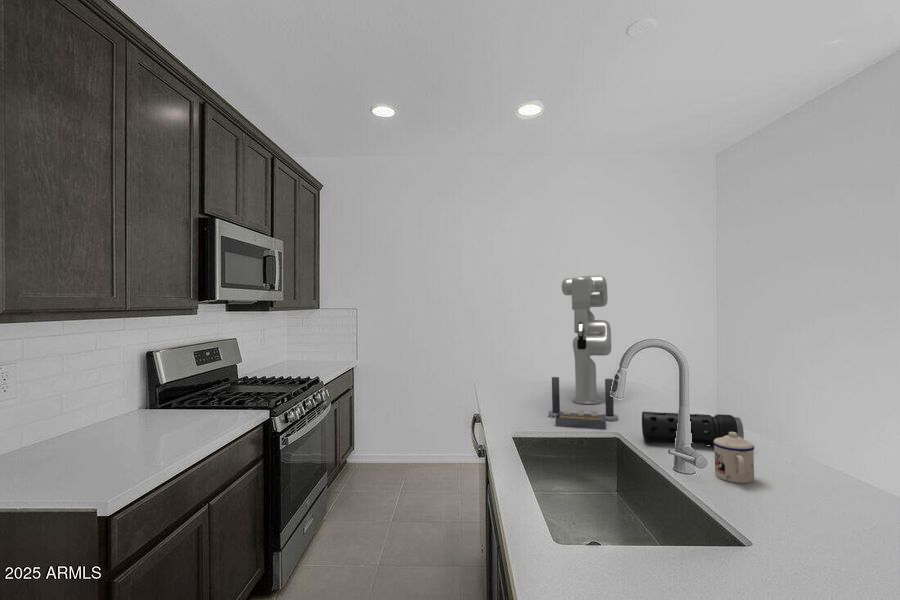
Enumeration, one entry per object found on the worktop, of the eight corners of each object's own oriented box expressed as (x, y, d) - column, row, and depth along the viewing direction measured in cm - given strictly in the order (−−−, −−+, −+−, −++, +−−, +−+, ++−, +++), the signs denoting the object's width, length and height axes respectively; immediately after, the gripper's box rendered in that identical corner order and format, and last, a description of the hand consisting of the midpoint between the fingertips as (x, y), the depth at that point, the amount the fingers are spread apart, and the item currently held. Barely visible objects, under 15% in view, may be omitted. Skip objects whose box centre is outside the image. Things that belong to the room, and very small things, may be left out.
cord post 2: (601, 417, 183) (600, 377, 184) (618, 418, 181) (617, 378, 181) (601, 420, 177) (600, 380, 177) (618, 421, 175) (617, 380, 175)
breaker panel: (558, 419, 180) (558, 407, 180) (605, 422, 174) (605, 409, 174) (555, 426, 171) (555, 412, 171) (605, 429, 165) (605, 415, 165)
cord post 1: (549, 413, 190) (548, 376, 191) (564, 414, 188) (564, 376, 188) (547, 417, 184) (546, 378, 185) (563, 418, 182) (562, 379, 182)
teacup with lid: (710, 469, 122) (709, 427, 123) (749, 473, 119) (747, 429, 120) (721, 486, 111) (720, 439, 111) (764, 490, 108) (763, 442, 108)
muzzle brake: (642, 438, 153) (641, 407, 154) (735, 444, 145) (734, 412, 145) (645, 446, 144) (644, 414, 145) (745, 453, 136) (744, 419, 136)
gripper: (573, 306, 201) (574, 346, 200) (570, 306, 184) (571, 350, 184) (591, 306, 198) (592, 346, 198) (589, 306, 182) (590, 350, 181)
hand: (582, 348), depth 191 cm, fingers open, 6 cm apart
